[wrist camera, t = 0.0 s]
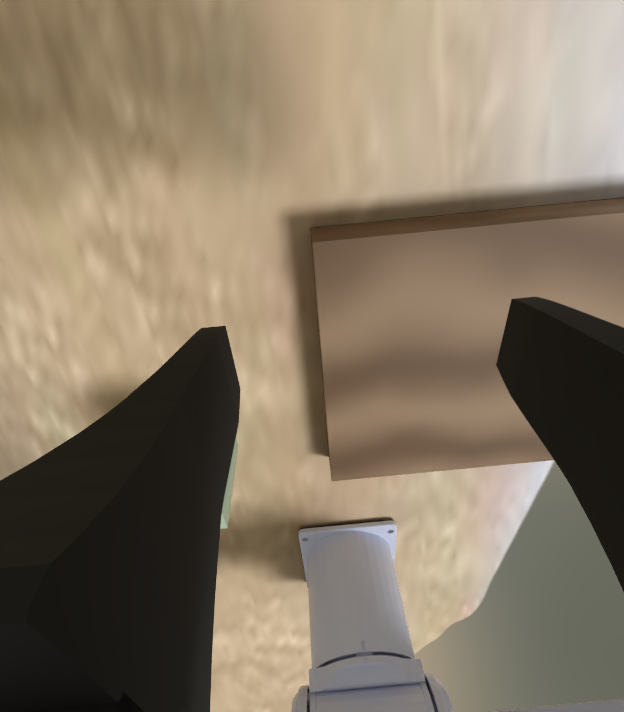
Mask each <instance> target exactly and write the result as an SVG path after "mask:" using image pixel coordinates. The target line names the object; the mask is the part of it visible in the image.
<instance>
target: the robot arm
mask: <svg viewBox="0 0 624 712" xmlns="http://www.w3.org/2000/svg"><path fill="white" fill-rule="evenodd" d="M496 366H497V368H498V370H499V372H500V375H501V377H502V379H503V381H504V383H505V385H506V387H507V389H508V391H509V393H510V395H511V397H512V399H513V400H514V402H515V403H516V405H517V406H518V408H519V409H520V411H521V412H522V414H523V415H524V417H525V418H526V420H527V421H528V423H529V424H530V425H531V427H532V428H533V430H534V431H535V433H536V434H537V436H538V437H539V439H540V440H541V441H542V443H543V444H544V446H545V447H546V449H547V450H548V452H549V453H550V454H551V456H552V457H553V459H554V460H555V462H556V463H557V465H558V466H559V468H560V469H561V470H562V472H563V474H564V475H565V477H566V479H567V480H568V482H569V484H570V485H571V487H572V489H573V491H574V493H575V494H576V496H577V498H578V500H579V502H580V504H581V506H582V507H583V509H584V511H585V513H586V515H587V517H588V518H589V520H590V522H591V524H592V526H593V528H594V530H595V532H596V534H597V536H598V538H599V540H600V542H601V545H602V547H603V548H604V550H605V552H606V555H607V557H608V558H609V561H610V563H611V565H612V567H613V569H614V571H615V574H616V576H617V578H618V580H619V582H620V585H621V587H622V589H623V591H624V328H623V327H621V326H618V325H616V324H613V323H610V322H608V321H605V320H602V319H600V318H597V317H595V316H592V315H589V314H587V313H584V312H582V311H579V310H576V309H574V308H571V307H568V306H565V305H563V304H560V303H557V302H554V301H551V300H547V299H544V298H540V297H526V298H516V299H511V304H510V308H509V312H508V316H507V321H506V325H505V329H504V333H503V338H502V342H501V346H500V350H499V355H498V359H497V363H496ZM239 406H240V386H239V381H238V377H237V373H236V369H235V364H234V360H233V356H232V352H231V348H230V343H229V339H228V335H227V331H226V326H219V327H209V328H201V329H200V330H199V331H197V332H196V333H195V334H194V335H193V336H192V337H191V338H190V339H189V340H188V341H187V342H186V343H185V344H184V345H183V346H182V347H181V348H180V349H179V350H178V351H177V352H176V353H175V354H174V355H173V356H172V357H171V358H170V359H169V360H168V361H167V362H166V363H165V364H164V365H163V366H162V367H161V368H160V369H158V370H157V371H156V372H155V373H154V374H153V375H152V376H151V377H150V378H149V379H147V380H146V381H145V382H144V383H143V384H142V385H141V386H139V387H138V388H137V389H136V390H135V391H134V392H133V393H131V394H130V395H129V396H128V397H127V398H126V399H124V400H123V401H122V402H121V403H119V404H118V405H117V406H116V407H114V408H113V409H112V410H110V411H109V412H108V413H107V414H105V415H104V416H102V417H101V418H100V419H98V420H97V421H96V422H94V423H93V424H91V425H90V426H89V427H87V428H86V429H84V430H83V431H81V432H80V433H79V434H77V435H75V436H74V437H72V438H71V439H69V440H67V441H66V442H64V443H63V444H61V445H60V446H58V447H56V448H55V449H53V450H52V451H50V452H48V453H47V454H45V455H44V456H42V457H41V458H39V459H37V460H36V461H34V462H32V463H31V464H29V465H27V466H26V467H24V468H22V469H20V470H18V471H17V472H15V473H13V474H11V475H10V476H8V477H6V478H4V479H2V480H1V481H0V712H210V693H211V664H212V642H213V623H214V604H215V589H216V575H217V561H218V548H219V537H220V525H221V515H222V508H223V502H224V496H225V491H226V485H227V480H228V475H229V470H230V465H231V460H232V455H233V449H234V444H235V439H236V433H237V428H238V422H239ZM396 533H397V525H396V522H395V521H391V520H390V521H379V522H369V523H359V524H348V525H338V526H327V527H317V528H306V529H301V530H300V531H299V532H298V537H299V542H300V548H301V554H302V559H303V565H304V570H305V576H306V582H307V587H308V591H309V614H310V637H311V659H312V669H310V670H309V685H310V689H309V686H308V685H305V686H301V687H300V688H299V691H298V693H297V694H296V695H295V697H294V698H293V702H292V711H291V712H454V710H453V707H452V704H451V701H450V699H449V696H448V694H447V692H446V690H445V688H444V686H443V685H442V684H441V683H440V682H439V681H438V680H437V679H436V678H435V676H434V675H433V674H424V672H423V668H422V663H421V660H420V659H415V657H414V652H413V648H412V643H411V639H410V634H409V630H408V625H407V621H406V616H405V612H404V607H403V603H402V598H401V594H400V589H399V585H398V580H397V576H396V571H395V567H394V559H395V546H396ZM488 712H624V699H615V700H604V701H593V702H584V703H574V704H562V705H552V706H541V707H530V708H520V709H509V710H498V711H488Z"/></svg>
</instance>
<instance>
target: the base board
mask: <svg viewBox="0 0 624 712" xmlns="http://www.w3.org/2000/svg"><path fill="white" fill-rule="evenodd" d="M310 230H311V242H312V254H313V266H314V279H315V291H316V303H317V316H318V328H319V340H320V352H321V365H322V377H323V389H324V401H325V414H326V426H327V438H328V451H329V461H330V470H331V479H332V481H339V480H350V479H360V478H371V477H381V476H391V475H402V474H412V473H423V472H433V471H444V470H454V469H465V468H475V467H485V466H496V465H506V464H517V463H527V462H538V461H548V460H554V459H553V457H552V456H551V454H550V453H549V452H548V450H547V449H546V447H545V446H544V444H543V443H542V441H541V440H540V439H539V437H538V436H537V434H536V433H535V431H534V430H533V428H532V427H531V425H530V424H529V423H528V421H527V420H526V418H525V417H524V415H523V414H522V412H521V411H520V409H519V408H518V406H517V405H516V403H515V402H514V400H513V399H512V397H511V395H510V393H509V391H508V389H507V387H506V385H505V383H504V381H503V379H502V377H501V375H500V372H499V370H498V368H497V366H496V363H497V359H498V355H499V350H500V346H501V342H502V338H503V333H504V329H505V325H506V321H507V316H508V312H509V308H510V304H511V299H516V298H526V297H540V298H544V299H547V300H551V301H554V302H557V303H560V304H563V305H565V306H568V307H571V308H574V309H576V310H579V311H582V312H584V313H587V314H589V315H592V316H595V317H597V318H600V319H602V320H605V321H608V322H610V323H613V324H616V325H618V326H621V327H623V328H624V198H615V199H605V200H595V201H584V202H574V203H564V204H553V205H543V206H533V207H522V208H512V209H502V210H491V211H481V212H470V213H460V214H450V215H439V216H429V217H419V218H408V219H398V220H388V221H377V222H367V223H357V224H346V225H336V226H326V227H315V228H310Z"/></svg>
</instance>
